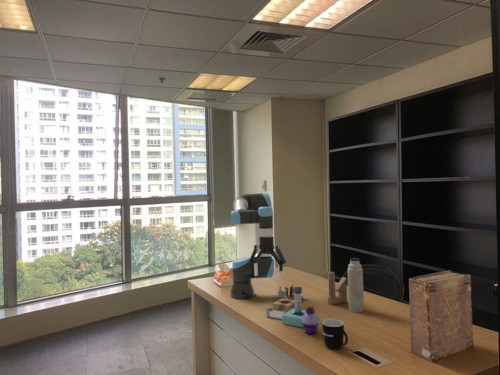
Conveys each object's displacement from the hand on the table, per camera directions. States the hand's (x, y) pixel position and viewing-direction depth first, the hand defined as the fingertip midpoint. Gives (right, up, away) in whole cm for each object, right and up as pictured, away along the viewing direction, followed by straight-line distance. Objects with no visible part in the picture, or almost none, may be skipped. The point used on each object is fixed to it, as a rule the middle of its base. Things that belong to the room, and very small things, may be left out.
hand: (267, 276), depth 198 cm
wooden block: (+41, -20, +18) cm, 49 cm away
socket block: (+15, -21, -9) cm, 27 cm away
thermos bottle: (+48, -20, +5) cm, 52 cm away
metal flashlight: (+15, -21, -9) cm, 27 cm away
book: (+69, -19, -46) cm, 85 cm away
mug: (+27, -21, -40) cm, 53 cm away
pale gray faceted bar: (+6, -21, -3) cm, 22 cm away
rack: (+10, -21, +7) cm, 24 cm away
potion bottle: (+19, -21, -23) cm, 37 cm away
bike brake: (+17, -21, +27) cm, 38 cm away
